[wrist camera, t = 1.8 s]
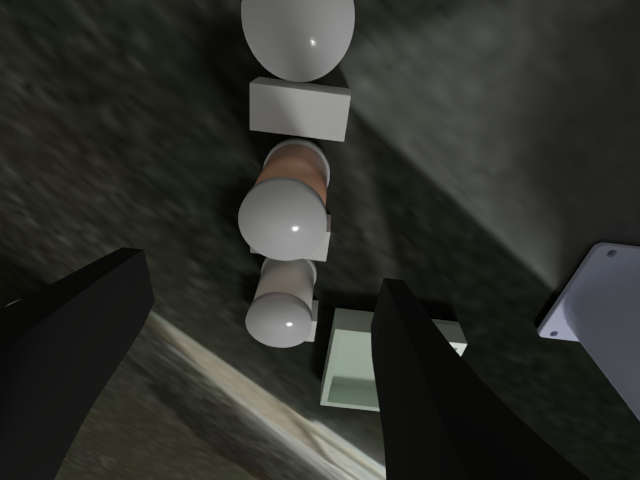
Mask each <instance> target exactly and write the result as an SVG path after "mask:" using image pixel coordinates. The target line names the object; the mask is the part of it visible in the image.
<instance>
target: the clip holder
mask: <svg viewBox="0 0 640 480" xmlns="http://www.w3.org/2000/svg"><path fill="white" fill-rule="evenodd" d="M350 98H351V94H350V88H342V87H334V86H327V85H319V84H311V83H303V82H293V81H288V80H280V79H272V78H265V77H258V78H256V79H255V80H253V81H252V82H250V130H255V131H263V132H271V133H279V134H287V135H295V136H303V137H311V138H319V139H327V140H334V141H342V142H344V138H345V131H346V125H347V118H348V111H349V105H350ZM330 227H331V215H329V214H327V228H326V234H325V237H324V240H323V241H322V243H321V245H320V246H319V247H318V248H317V249H316V250H315V251H314V252H313V253H311V254H310V255H308V256H306V257H303V258H301V259H310V260H318V261H326V257H327V251H328V244H329V237H330ZM250 253H258V252H257V251H255V250H254V249H253V248H252V247H251V246H250ZM259 254H260V253H259ZM311 312H312V327H311V332H310V335H309V336H308V338H307V339H306V340H305V341H311V342H314V337H315V330H316V324H317V312H318V301H317V300H312V308H311Z"/></svg>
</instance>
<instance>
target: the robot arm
mask: <svg viewBox="0 0 640 480" xmlns="http://www.w3.org/2000/svg"><path fill="white" fill-rule="evenodd" d="M609 251H610V252H609ZM608 252H609V253H608ZM154 301H155V300H154V295H153V290H152V286H151V281H150V276H149V272H148V267H147V263H146V258H145V253H144V250H142V249H133V248H125V247H123V248H121V249H118V250H116V251H114V252H112V253H110V254H108V255H106V256H104V257H102V258H100V259H98V260H96V261H94V262H93V263H91V264H89V265H87V266H85V267H83V268H81V269H79V270H78V271H76V272H74V273H72V274H70V275H68V276H66V277H64V278H62V279H60V280H58V281H57V282H55V283H53V284H51V285H49V286H47V287H45V288H43V289H41V290H39V291H37V292H35V293H33V294H31V295H29V296H27V297H24V298H22V299H20V300H18V301H16V302H14V303H12V304H10V305H8V306H6V307H4V308H2V309H0V480H54V478H55V476H56V474H57V472H58V470H59V468H60V466H61V464H62V462H63V460H64V458H65V456H66V454H67V452H68V450H69V448H70V446H71V444H72V442H73V440H74V438H75V436H76V435H77V433H78V431H79V429H80V427H81V425H82V423H83V421H84V419H85V417H86V416H87V414H88V412H89V411H90V409H91V407H92V406H93V404H94V402H95V401H96V399H97V397H98V396H99V394H100V393H101V391H102V390H103V388H104V387H105V385H106V384H107V382H108V381H109V379H110V377H111V376H112V374H113V373H114V371H115V370H116V368H117V367H118V365H119V364H120V362H121V361H122V359H123V358H124V356H125V354H126V353H127V351H128V350H129V348H130V347H131V345H132V344H133V342H134V340H135V339H136V337H137V336H138V334H139V332H140V331H141V329H142V327H143V325H144V323H145V321H146V319H147V317H148V314H149V312H150V310H151V308H152V306H153V303H154ZM537 332H538V334H539V335H540V336H541V337H546V338H555V339H563V340H572V341H580V343H581V344H582V345H583V347H584V348H585V349H586V351H587V352H588V353H589V355H590V356H591V357H592V359H593V360H594V361H595V363H596V364H597V365H598V366H599V368H600V369H601V370H602V372H603V373H604V374H605V376H606V377H607V378H608V380H609V381H610V382H611V384H612V385H613V386H614V388H615V389H616V390H617V392H618V393H619V394H620V395H621V397H622V398H623V399H624V401H625V402H626V403H627V405H628V406H629V407H630V409H631V410H632V411H633V413H634V414H635V415H636V417H637V418H638V419H639V421H640V247H639V246H630V245H622V244H614V243H606V242H602V243H598V244H596V245H594V246H593V247H592V249H591V250H590V251H589V253H588V254H587V256H586V257H585V259H584V260H583V262H582V263H581V265H580V266H579V268H578V269H577V271H576V272H575V274H574V275H573V277H572V278H571V280H570V281H569V283H568V284H567V286H566V287H565V289H564V290H563V291H562V293H561V294H560V296H559V297H558V299H557V300H556V302H555V303H554V305H553V306H552V308H551V309H550V311H549V312H548V314H547V315H546V317H545V318H544V320H543V321H542V323H541V324H540V326H539V327H538V329H537ZM371 354H372V363H373V370H374V377H375V384H376V390H377V397H378V403H379V410H380V416H381V423H382V430H383V438H384V447H385V463H386V480H590V479H589V478H588V477H587V476H585V475H584V474H583V473H582V472H580V471H579V470H578V469H577V468H576V467H574V466H573V465H572V464H571V463H570V462H568V461H567V460H566V459H565V458H564V457H562V456H561V455H560V454H559V453H558V452H557V451H555V450H554V449H553V448H552V447H551V446H550V445H548V444H547V443H546V442H545V441H544V440H543V439H542V438H541V437H539V436H538V435H537V434H536V433H535V432H534V431H533V430H532V429H531V428H530V427H529V426H527V425H526V424H525V423H524V422H523V421H522V420H521V419H520V418H519V417H518V416H517V415H516V414H514V413H513V412H512V411H511V410H510V409H509V408H508V407H507V406H506V405H505V404H504V403H503V402H502V401H501V400H500V399H499V398H498V397H497V396H496V395H495V394H494V393H493V392H492V391H491V389H490V388H489V387H488V386H487V385H486V384H485V383H484V382H483V381H482V380H481V379H480V378H479V377H478V376H477V375H476V374H475V373H474V371H473V370H472V369H471V368H470V367H469V366H468V365H467V363H466V362H465V361H464V360H463V359H462V358H461V356H460V355H459V354H458V353H457V352H456V350H455V349H454V348H453V347H452V346H451V344H450V343H449V342H448V341H447V339H446V338H445V337H444V335H443V334H442V333H441V331H440V330H439V329H438V327H437V326H436V325H435V323H434V322H433V321H432V319H431V318H430V317H429V315H428V314H427V312H426V311H425V310H424V308H423V307H422V305H421V304H420V302H419V301H418V300H417V298H416V297H415V295H414V294H413V292H412V291H411V289H410V288H409V287H408V285H407V284H406V282H405V281H404V280H398V279H389V278H384V279H383V283H382V286H381V290H380V293H379V297H378V301H377V304H376V308H375V311H374V315H373V319H372V322H371Z"/></svg>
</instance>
